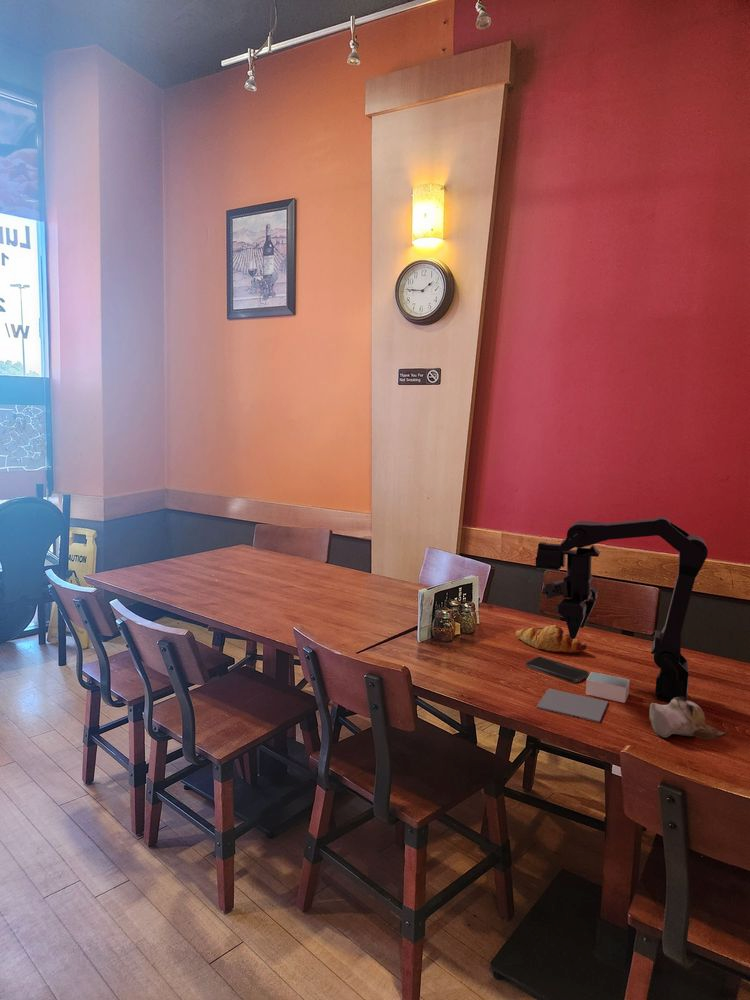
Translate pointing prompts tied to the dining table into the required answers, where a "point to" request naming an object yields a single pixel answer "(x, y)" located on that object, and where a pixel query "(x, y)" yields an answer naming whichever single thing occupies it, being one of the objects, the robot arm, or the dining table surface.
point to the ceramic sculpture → (681, 720)
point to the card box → (607, 687)
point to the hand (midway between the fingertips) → (577, 632)
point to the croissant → (550, 639)
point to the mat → (573, 705)
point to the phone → (557, 669)
